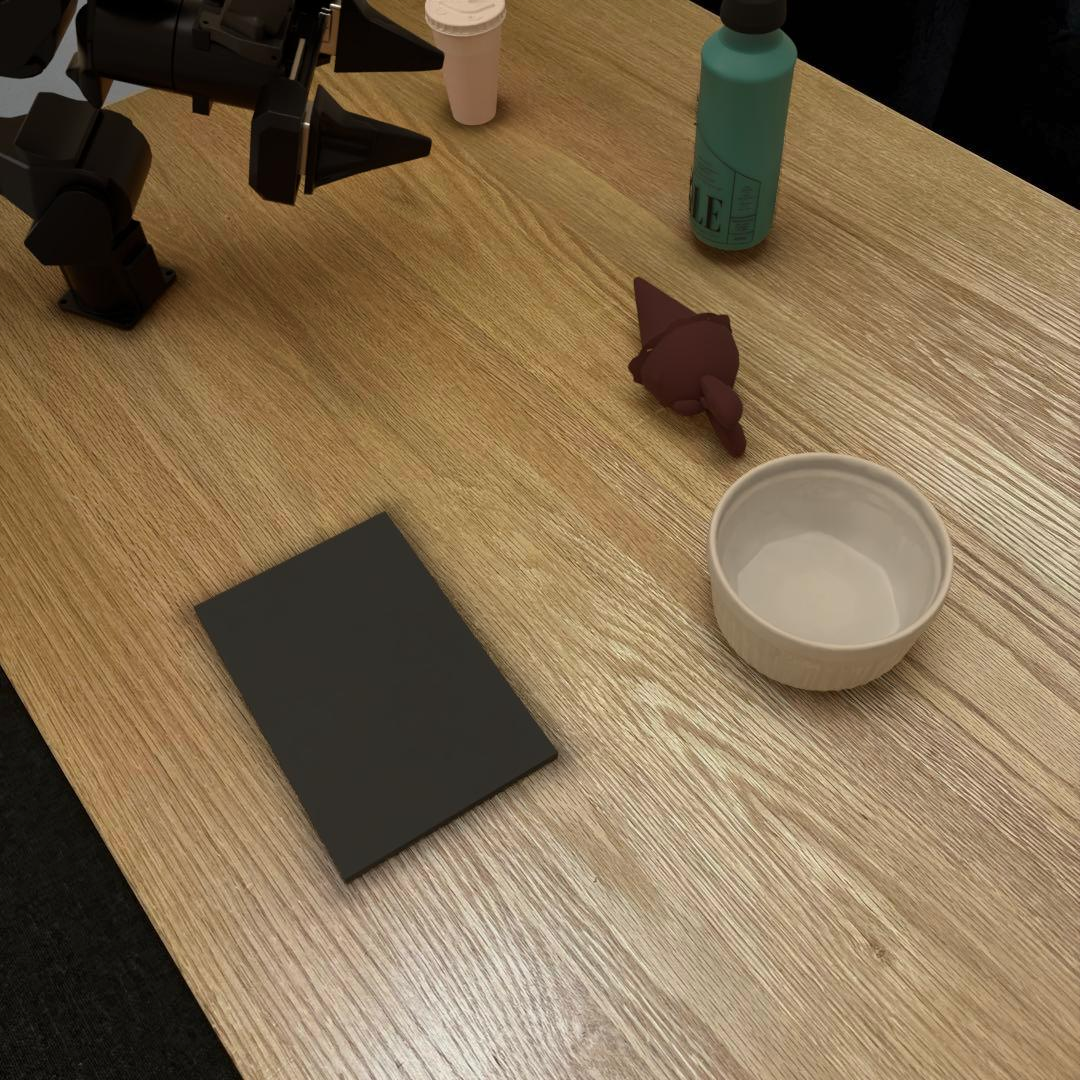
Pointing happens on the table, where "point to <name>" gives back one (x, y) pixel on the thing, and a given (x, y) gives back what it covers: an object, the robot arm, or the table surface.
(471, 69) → the smoothie
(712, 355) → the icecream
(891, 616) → the ramekin
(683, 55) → the table surface
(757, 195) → the beverage bottle
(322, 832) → the mat
